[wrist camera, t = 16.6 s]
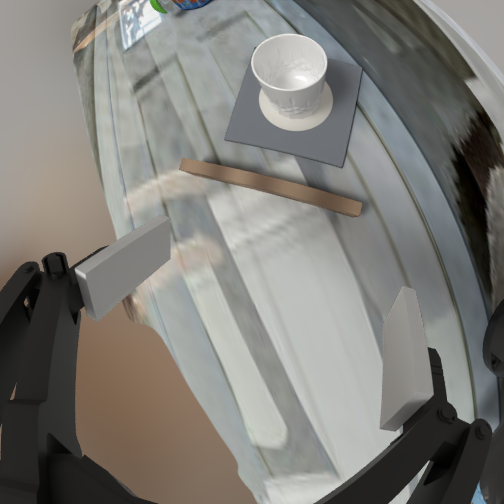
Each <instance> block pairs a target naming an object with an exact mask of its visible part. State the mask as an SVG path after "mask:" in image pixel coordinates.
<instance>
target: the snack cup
mask: <svg viewBox="0 0 504 504" xmlns="http://www.w3.org/2000/svg"><path fill="white" fill-rule="evenodd" d="M172 1H173V2H174V3H175V4H176V5H177V6H178V7H180V8H182V9H184V10H186V9H194V8H197V7H202V6H203V5H204V4H206V3H207V2H209V1H210V0H172ZM150 3H151V5H152V7H153V8H154V9H155V10H156V11H158V12H161V13H165V14H166V13H167V12H166V11H165V10H164V9H163V8H162V6H161V5H160V3H159V2H158V1H157V0H150Z"/></svg>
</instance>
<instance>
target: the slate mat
mask: <svg viewBox="0 0 504 504" xmlns="http://www.w3.org/2000/svg"><path fill="white" fill-rule="evenodd" d="M256 48H257V47H255V48H254V51H255V50H256ZM254 51H253V53H254ZM253 53H252V56H253ZM252 56H251V59H250V62H249V65H248V68H247V70H246V73H245V76H244V79H243V82H242V85H241V88H240V91H239V94H238V97H237V100H236V103H235V106H234V109H233V112H232V116H231V119H230V122H229V125H228V129H227V132H226V135H225V138H224V140H225V141H231V142H236V143H241V144H246V145H251V146H256V147H261V148H265V149H270V150H274V151H279V152H283V153H287V154H291V155H295V156H299V157H303V158H307V159H311V160H315V161H318V162H322V163H325V164H329V165H332V166H336V167H339V168H342V165H343V161H344V157H345V152H346V148H347V144H348V139H349V134H350V130H351V125H352V120H353V115H354V110H355V105H356V100H357V95H358V89H359V84H360V78H361V72H362V67H359V66H355V65H352V64H348V63H344V62H340V61H336V60H332V59H327V70H326V76H325V83H324V89H323V93H322V96H321V99H320V104H319V107H318V109H317V110H316V111H315V112H314V113H313V114H312V115H311V116H308V117H306V118H303V119H288V118H286V117H284V116H281V115H279V114H278V113H277V111H276V110H275V109H274V108H273V107H272V105H271V103H270V102H269V100H268V99H267V97H266V95H265V93H264V92H263V90H262V88H261V86H260V84H259V82H258V80H257V78H256V76H255V74H254V73H253V70H252V66H251V60H252Z"/></svg>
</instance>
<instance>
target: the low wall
mask: <svg viewBox="0 0 504 504" xmlns="http://www.w3.org/2000/svg"><path fill="white" fill-rule="evenodd" d="M179 170H182V171H184V172H187V173H190V174H192V175H195V176H199V177H204V178H208V179H212V180H217V181H221V182H226V183H230V184H234V185H238V186H242V187H246V188H250V189H254V190H258V191H262V192H266V193H270V194H274V195H278V196H281V197H285V198H289V199H292V200H296V201H300V202H303V203H307V204H310V205H314V206H317V207H320V208H324V209H327V210H331V211H334V212H337V213H341V214H344V215H347V216H350V217H357V216H360V212H361V208H362V204H363V203H361V202H358V201H355V200H351V199H348V198H345V197H342V196H338V195H335V194H332V193H328V192H325V191H321V190H318V189H314V188H311V187H307V186H304V185H300V184H296V183H292V182H289V181H285V180H281V179H277V178H273V177H269V176H265V175H261V174H257V173H252V172H248V171H244V170H239V169H235V168H230V167H226V166H221V165H216V164H211V163H206V162H201V161H196V160H191V159H186V158H182V161H181V165H180V168H179Z"/></svg>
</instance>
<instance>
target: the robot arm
mask: <svg viewBox="0 0 504 504" xmlns="http://www.w3.org/2000/svg"><path fill="white" fill-rule="evenodd" d="M170 259H171V258H170V218H169V217H165V216H162V215H159V216H157V217H156V218H154V219H152V220H150V221H149V222H147V223H145V224H144V225H142V226H140V227H139V228H137V229H135V230H134V231H132V232H130V233H129V234H127V235H125V236H124V237H122V238H120V239H119V240H117V241H116V242H114V243H113V244H111V245H108V246H105V247H102V248H100V249H98V250H96V251H95V252H93V254H90V255H89V256H87V257H86V258H84V259H83V260H81V261H79V262H78V263H76V264H75V265H74V266H72V267H71V268H69V267H68V263H67V259H66V255H65V254H64V253H61V252H54V253H50V254H48V255H46V256H45V257H44V258H43V259H42V264H43V268H44V272H42V271H40V268H39V265H38V263H37V262H26V263H25V264H23V265H21V266H20V267H19V268H18V270H17V271H16V272H15V273H14V274H13V276H12V277H11V278H10V280H9V281H8V282H7V283H6V285H5V286H4V287H3V289H2V290H1V292H0V426H1V424H2V433H1V460H0V504H157V503H154V502H151V501H147V500H144V499H141V498H138V497H137V496H136V495H135V494H134V493H133V492H132V491H131V490H130V489H129V488H128V487H127V486H125V485H124V484H123V483H121V482H120V481H119V480H118V479H116V478H115V477H114V476H113V475H111V474H110V473H109V472H108V471H106V470H105V469H103V468H102V467H101V466H99V465H98V464H96V463H95V462H94V461H92V460H91V459H90V458H88V457H87V456H86V455H84V456H83V457H82V452H81V448H80V445H79V442H78V440H77V436H76V428H75V426H76V425H75V380H76V362H77V349H78V338H79V329H80V321H81V312H80V309H81V308H83V307H85V310H86V314H87V316H89V317H90V318H92V319H94V320H95V321H97V322H98V321H99V320H100V319H101V318H102V317H103V316H104V315H106V314H107V313H108V312H109V311H110V310H111V309H112V308H113V307H114V306H116V305H117V304H118V303H119V302H120V301H121V300H123V299H124V298H125V297H126V296H127V295H128V294H129V293H131V292H132V291H133V290H134V289H135V288H136V287H138V286H139V285H140V284H141V283H142V282H143V281H145V280H146V279H147V278H148V277H149V276H150V275H152V274H153V273H154V272H155V271H156V270H158V269H159V268H160V267H161V266H162V265H164V264H165V263H166V262H167V261H168V260H170ZM25 299H27V301H28V305H27V306H25V305H24V301H25ZM382 332H383V381H382V404H381V418H380V429H383V430H389V431H395V432H396V431H397V430H398V429H399V428H400V427H401V426H402V425H403V433H402V434H401V435H400V436H399V437H397V438H396V439H395V440H394V441H393V442H391V443H390V445H389V446H388V447H387V448H386V449H385V450H384V451H383V452H382V453H380V454H379V455H378V456H377V457H376V458H375V459H374V460H372V461H371V462H370V463H369V464H368V465H366V466H365V467H364V468H363V469H362V470H360V471H359V472H358V473H356V474H355V475H354V476H353V477H351V478H350V479H349V480H347V481H346V482H345V483H343V484H342V485H341V486H339V487H338V488H336V489H335V490H334V491H332V492H331V493H329V494H328V495H326V496H325V497H323V498H322V499H320V500H319V501H317V502H315V503H314V504H388V503H389V502H390V501H391V500H392V499H394V498H395V497H396V496H397V495H398V494H399V493H400V492H401V491H402V490H403V489H404V488H405V486H406V485H407V484H408V483H409V482H410V481H411V480H412V479H413V478H414V477H415V476H416V475H417V474H418V472H419V471H420V470H421V469H422V468H423V467H424V466H425V464H426V463H427V462H428V461H430V462H429V464H428V466H427V468H426V470H425V472H424V474H423V475H422V477H421V479H420V481H419V483H418V485H417V486H416V488H415V490H414V492H413V493H412V495H411V497H410V498H409V500H408V501H407V503H406V504H471V501H472V503H473V504H504V419H503V420H502V422H501V423H500V424H499V426H498V427H497V428H496V430H495V431H494V432H493V433H492V429H491V427H490V425H489V423H488V422H487V421H485V420H484V419H476V420H475V421H473V422H472V423H471V424H469V423H467V422H465V421H462V420H460V419H459V418H457V412H456V409H455V408H454V407H453V405H451V404H450V403H449V402H447V395H446V388H445V381H444V376H443V369H442V363H441V358H440V356H439V354H438V353H437V351H436V349H433V348H429V347H427V342H426V337H425V332H424V327H423V322H422V317H421V312H420V308H419V304H418V299H417V295H416V291H415V289H412V288H408V287H405V286H402V288H401V290H400V292H399V294H398V296H397V298H396V300H395V302H394V304H393V306H392V308H391V310H390V312H389V314H388V316H387V318H386V320H385V321H384V323H383V325H382ZM483 358H484V362H485V365H486V366H487V368H488V369H489V370H490V371H491V372H492V373H493V374H495V375H496V376H498V377H501V378H504V300H503V301H502V302H501V303H500V305H499V306H498V308H497V309H496V311H495V312H494V314H493V316H492V318H491V320H490V322H489V325H488V327H487V330H486V334H485V338H484V343H483ZM16 382H17V384H16ZM15 385H16V391H15V397H14V399H13V400H10V398H11V395H12V393H13V390H14V387H15Z"/></svg>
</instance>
